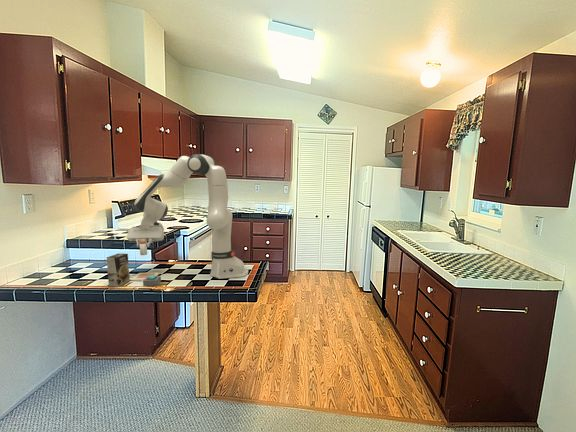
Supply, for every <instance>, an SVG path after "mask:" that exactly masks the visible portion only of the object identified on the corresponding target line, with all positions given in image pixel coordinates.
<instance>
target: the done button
mask: <svg viewBox="0 0 576 432" xmlns="http://www.w3.org/2000/svg"><path fill="white" fill-rule="evenodd" d="M148 279H149V280H155V279H156V276H155V275H150V276H148Z"/></svg>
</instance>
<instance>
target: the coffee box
mask: <svg viewBox="0 0 576 432" xmlns="http://www.w3.org/2000/svg"><path fill="white" fill-rule="evenodd" d="M106 266H107V267H106V268H107V269H106V270H107V279H108V287H117V288H119V287H121V286H123V285H125V284H127V283H129V282H131V281H130V280H131V279H130V278H131V277H130V267H129V254H128V253H116V254H112V255H109V256H107V257H106Z"/></svg>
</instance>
